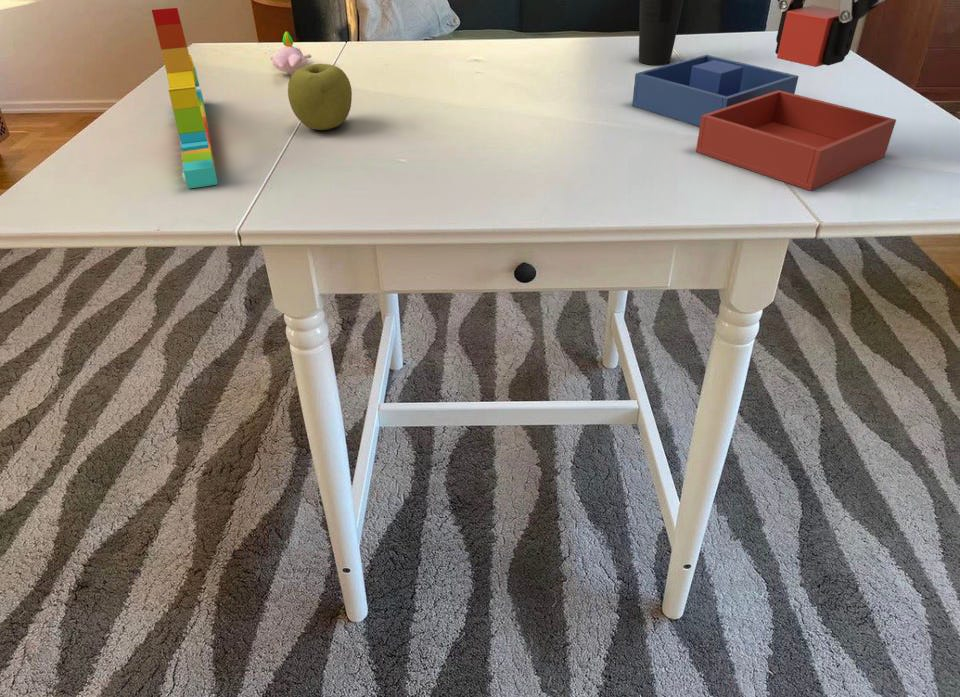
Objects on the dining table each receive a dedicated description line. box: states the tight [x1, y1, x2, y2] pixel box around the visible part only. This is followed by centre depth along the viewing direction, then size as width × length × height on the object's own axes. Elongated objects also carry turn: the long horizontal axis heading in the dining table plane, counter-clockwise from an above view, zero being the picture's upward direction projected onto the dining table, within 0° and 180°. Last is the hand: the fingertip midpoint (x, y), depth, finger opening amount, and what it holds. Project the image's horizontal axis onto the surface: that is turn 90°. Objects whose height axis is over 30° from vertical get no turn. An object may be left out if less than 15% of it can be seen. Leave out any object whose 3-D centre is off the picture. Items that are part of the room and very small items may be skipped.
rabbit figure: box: [269, 30, 312, 76], centre depth 109 cm, size 6×6×15 cm
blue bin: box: [631, 54, 800, 128], centre depth 93 cm, size 14×14×4 cm
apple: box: [287, 63, 353, 131], centre depth 88 cm, size 8×8×7 cm
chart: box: [151, 7, 218, 190], centre depth 83 cm, size 30×3×15 cm, turn 20°
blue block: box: [689, 60, 744, 97], centre depth 92 cm, size 4×4×4 cm
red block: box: [776, 4, 839, 68], centre depth 73 cm, size 4×4×4 cm
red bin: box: [695, 90, 897, 192], centre depth 79 cm, size 14×14×4 cm
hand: (809, 55), depth 74 cm, fingers closed on red block, 4 cm apart
